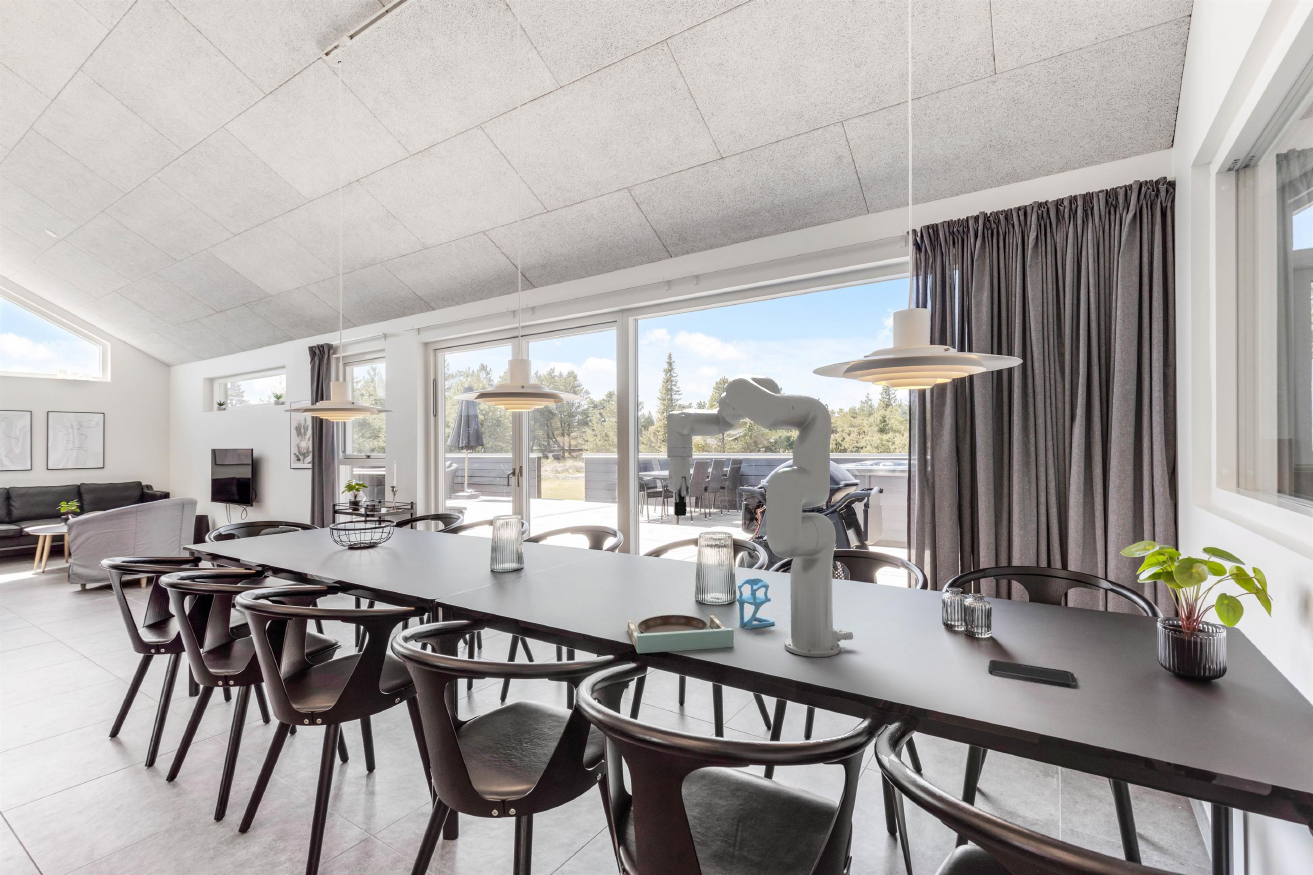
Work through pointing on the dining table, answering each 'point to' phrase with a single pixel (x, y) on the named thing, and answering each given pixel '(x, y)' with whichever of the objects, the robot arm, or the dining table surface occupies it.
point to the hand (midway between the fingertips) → (680, 515)
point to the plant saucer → (671, 624)
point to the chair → (753, 603)
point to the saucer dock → (683, 639)
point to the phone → (1032, 673)
